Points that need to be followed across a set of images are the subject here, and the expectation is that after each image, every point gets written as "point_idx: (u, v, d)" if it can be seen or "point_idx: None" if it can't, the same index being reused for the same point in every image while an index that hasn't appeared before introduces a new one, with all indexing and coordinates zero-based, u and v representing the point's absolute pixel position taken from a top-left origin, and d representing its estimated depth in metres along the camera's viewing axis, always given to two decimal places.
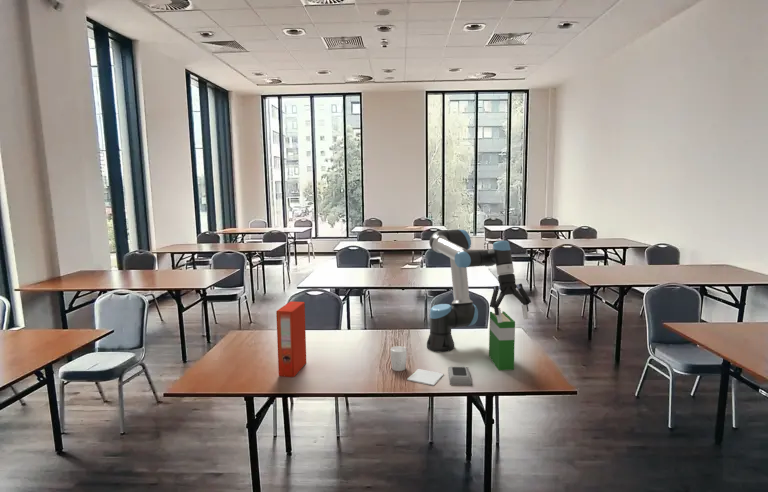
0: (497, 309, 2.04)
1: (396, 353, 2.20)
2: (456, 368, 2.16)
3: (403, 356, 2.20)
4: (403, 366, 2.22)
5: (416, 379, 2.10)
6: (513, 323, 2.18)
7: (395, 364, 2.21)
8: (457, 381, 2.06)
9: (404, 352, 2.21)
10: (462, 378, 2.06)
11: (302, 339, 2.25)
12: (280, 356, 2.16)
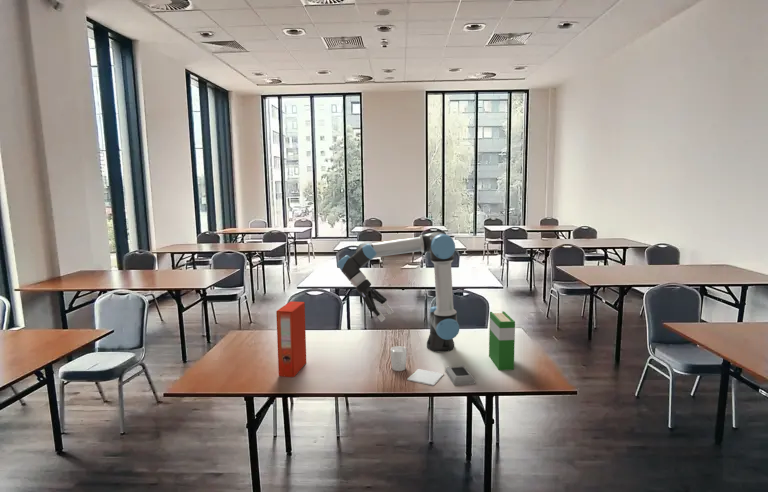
0: None
1: (396, 353, 2.20)
2: (455, 368, 2.16)
3: (403, 356, 2.20)
4: (403, 366, 2.22)
5: (416, 379, 2.10)
6: (513, 323, 2.18)
7: (395, 364, 2.21)
8: (461, 381, 2.05)
9: (404, 352, 2.21)
10: (465, 377, 2.06)
11: (302, 339, 2.25)
12: (280, 356, 2.16)
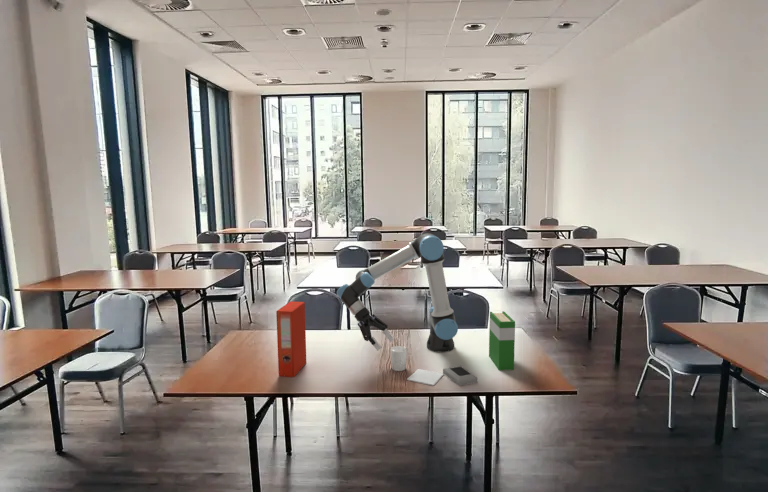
0: None
1: (396, 353, 2.20)
2: (454, 369, 2.16)
3: (403, 356, 2.20)
4: (403, 366, 2.22)
5: (416, 379, 2.10)
6: (513, 323, 2.18)
7: (395, 364, 2.21)
8: (465, 381, 2.05)
9: (404, 352, 2.21)
10: (468, 377, 2.07)
11: (302, 339, 2.25)
12: (280, 356, 2.16)
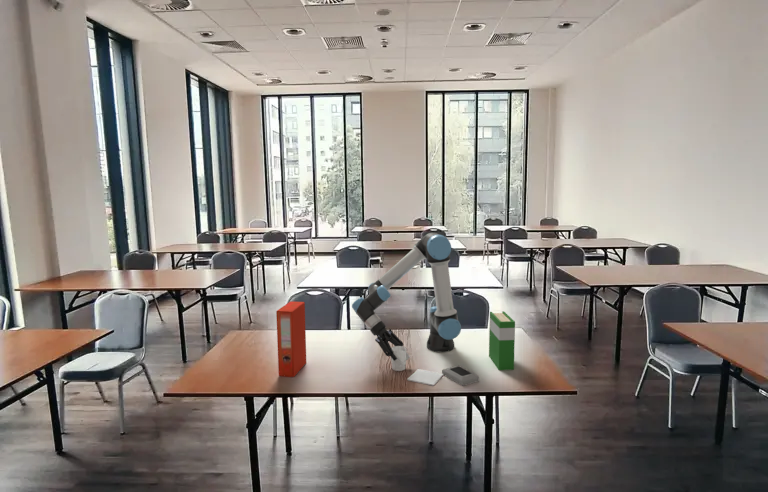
0: None
1: (396, 353, 2.19)
2: (453, 369, 2.15)
3: (403, 356, 2.20)
4: (403, 366, 2.22)
5: (416, 379, 2.10)
6: (513, 323, 2.18)
7: (395, 364, 2.21)
8: (468, 380, 2.06)
9: (404, 352, 2.21)
10: (470, 376, 2.08)
11: (302, 339, 2.26)
12: (280, 356, 2.16)
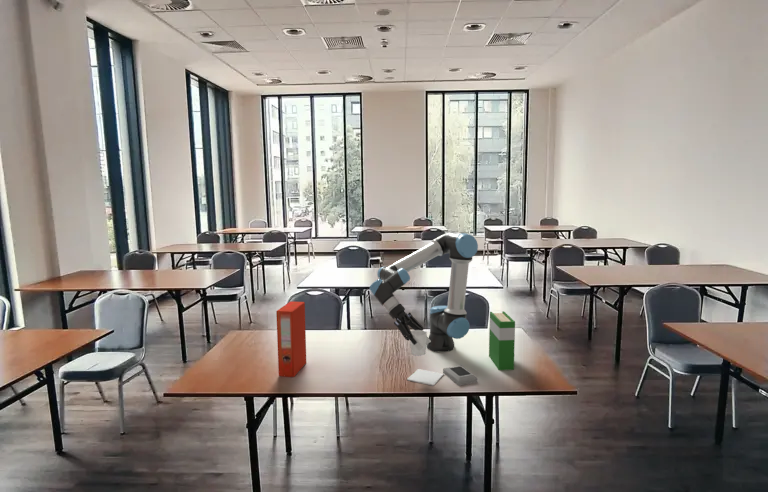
0: None
1: (416, 337, 2.09)
2: (454, 368, 2.16)
3: (423, 340, 2.09)
4: (424, 351, 2.11)
5: (416, 379, 2.10)
6: (513, 323, 2.18)
7: (415, 349, 2.10)
8: (465, 381, 2.06)
9: (424, 336, 2.10)
10: (468, 377, 2.07)
11: (302, 339, 2.25)
12: (280, 356, 2.16)
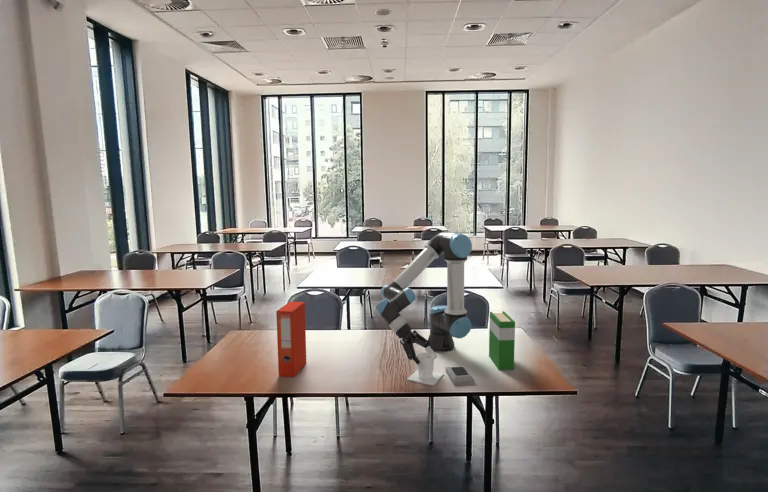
0: None
1: (423, 360, 2.09)
2: (455, 368, 2.16)
3: (431, 363, 2.10)
4: (431, 374, 2.11)
5: (416, 379, 2.10)
6: (513, 323, 2.18)
7: (422, 372, 2.10)
8: (460, 381, 2.05)
9: (432, 359, 2.10)
10: (465, 377, 2.06)
11: (302, 339, 2.25)
12: (280, 356, 2.16)
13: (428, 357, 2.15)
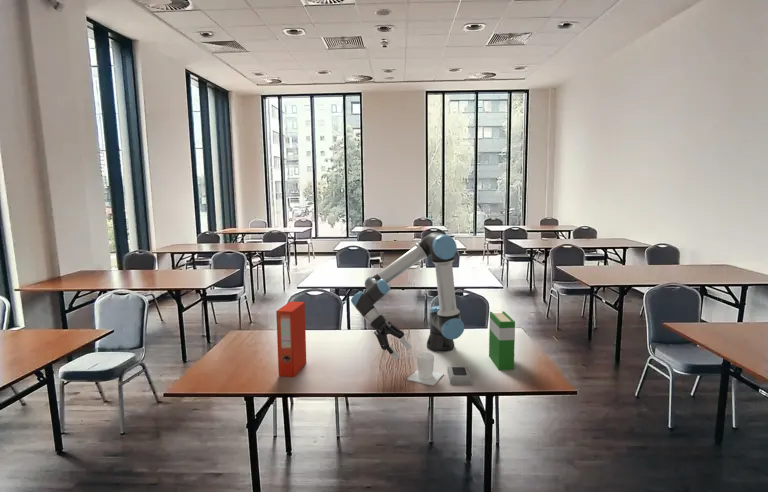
0: None
1: (423, 360, 2.09)
2: (456, 368, 2.16)
3: (431, 363, 2.10)
4: (431, 374, 2.11)
5: (416, 379, 2.10)
6: (513, 323, 2.18)
7: (422, 372, 2.10)
8: (457, 381, 2.06)
9: (432, 359, 2.10)
10: (462, 377, 2.06)
11: (302, 339, 2.25)
12: (280, 356, 2.16)
13: (428, 357, 2.15)
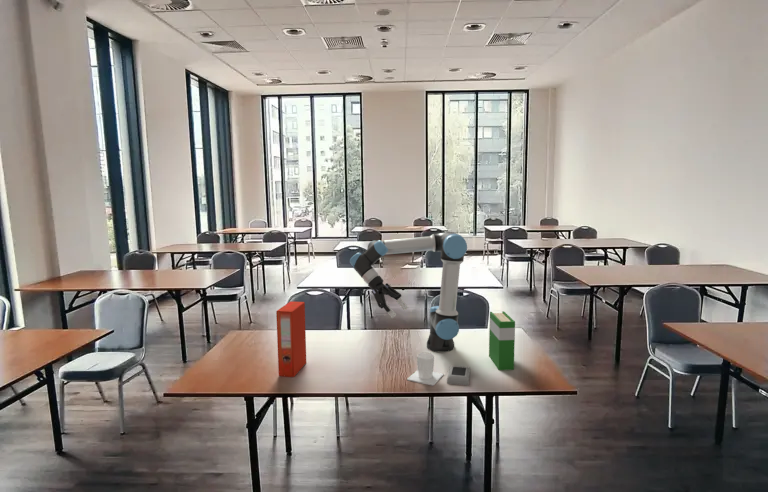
0: None
1: (423, 360, 2.09)
2: (457, 368, 2.16)
3: (431, 363, 2.10)
4: (431, 374, 2.11)
5: (416, 379, 2.10)
6: (513, 323, 2.18)
7: (422, 372, 2.10)
8: (454, 380, 2.06)
9: (432, 359, 2.10)
10: (459, 377, 2.06)
11: (302, 339, 2.25)
12: (280, 356, 2.16)
13: (428, 357, 2.15)
